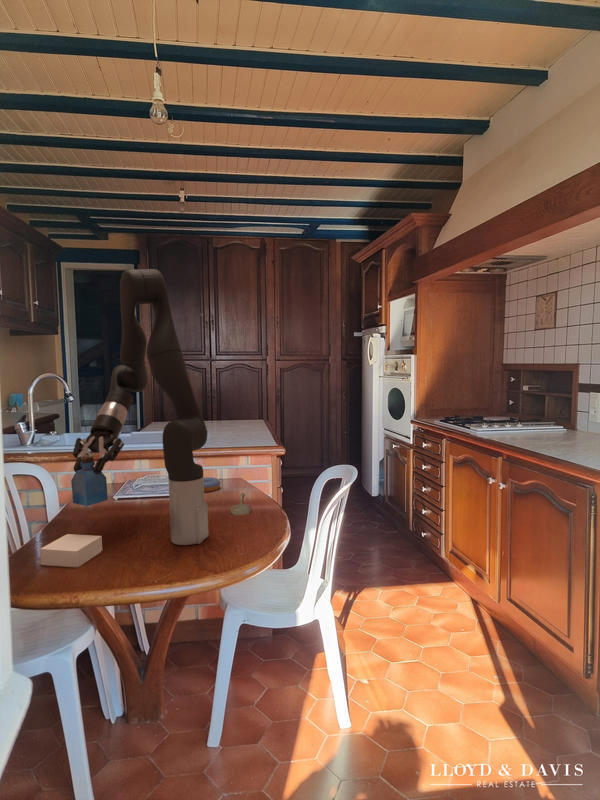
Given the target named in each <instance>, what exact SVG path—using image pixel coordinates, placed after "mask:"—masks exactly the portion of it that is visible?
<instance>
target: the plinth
mask: <svg viewBox="0 0 600 800" xmlns="http://www.w3.org/2000/svg"><path fill="white" fill-rule="evenodd" d="M102 537H103V536H102V535H92V534H91V535H90V534H89V535H88V534H71V533H70V534H69V533H67V534H64V535H63V536H61V537H59V538H58V539H55V540H54V541H51V542H50V543H48V544H47V545H44V546H43V547H40V549H39V554H40V556H39V557H40V565H41V566H52V567H53V566H54V567H69V568H79V567H81V566H82V565H84V564H85V563H87V562H88V561H90V560H92V559H93V558H94V557H97V555H99V554H100V553H102V552H103V540H102V539H103V538H102ZM101 551H102V552H101Z"/></svg>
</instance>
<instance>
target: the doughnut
mask: <svg viewBox="0 0 600 800" xmlns="http://www.w3.org/2000/svg"><path fill="white" fill-rule="evenodd" d="M203 481H204V493H210V492H211V493H212V492H216V491H217V490H219V489H220V487H221V481H220V480H219V479H218V478H216V477H211V476H210V477H203Z"/></svg>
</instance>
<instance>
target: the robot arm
mask: <svg viewBox="0 0 600 800" xmlns="http://www.w3.org/2000/svg"><path fill="white" fill-rule="evenodd" d="M119 282H120V283H119V298H120V300H119V301H120V316H121V343H120V352H119V353H120V354H119V360H120V362H121V363H122V364H119V365H117V366H115V367H114V369H113V370H112V372H111V377H110V378H111V379H110V387H109V391H108V394H107V397H106V399H105V401H104V403H103V405H102V406H101V408H100V409H99V411H98V413H97V415H96V418H95V419H94V421H93V423H92V425H91V428H90V433H89V435H88V436H87V437H86V438H83V439H82V438H80V437H77V438H76V439H75V443H74V447H73V451H72V456H73V457H74V458H75V459H76V461H75V463H74V465H73V472H75V473H76V471H77V470H82V467H81V462H82V460H81V458H82V457H87V456H94V454H95V453H99V458H97V460H96V461H95V465H94V469H93V471H94V472H95V473H96V474H100V472H103V470H104V467H105V465H106V463H108V462H109V461H111V462H113V461H115V459H116V458H117V457H118V455H119V453H120V452H121V450H122V449H123V447H124V446H125V443H124V442H123V441H122V439H121V438H119V435H120V433H121V431H122V429H123V427H124V424H125V422H126V419H127V415H128V412H129V410H130V408H131V406H132V404H133V399H134V398H133V395H132V393H130V392H134V393H141V392H143V391H144V390H145V389H146V388H147V385H148V379H149V378H148V372H147V367H146V361H145V358H147V361H148V365H149V368H150V373H151V375H152V378H153V379H154V381H155V382H156V384H157V385H158V386H159V387H160V388H161V390H162V391H163V393H164V394H165V395H166V396H167V398H168V399H169V400H170V402H171V404H172V406H173V408H174V409H173V410H174V412H175V415H176V419H174V420H171V421H168V422H167V424H166V425H165V426H164V428H163V431H162V451H163V460H164V461H163V462H164V467H165V470H166V473H167V475H168V496H169V497H168V498H169V519H170V520H169V521H170V541H171V542H172V543H173V544H175V545H178V546H190V545H196V544H197V545H200V544H201V543H203V542H204V540H206V539H207V538H208V536H209V517H208V516H209V515H208V513H209V511H208V502H205V492H204V481H203V478H204V467H203V465H201V464H199V463H196V462H195V460H194V452H195V451H197V450H198V451H199V450H200V449H202V448H203V447H204V446H205V445H206V443H207V440H208V430H207V426H206V423H205V420H204V418H203V415H202V412H201V410H200V408H199V405H198V402H197V399H196V398H195V397H196V396H195V394H194V391H193V387H192V384H191V383H192V382H191V380H190V377H189V374H188V369H187V367H186V366H187V365H186V362H185V358H184V355H183V351H182V348H181V347H182V346H181V345H180V341H179V338H178V334H177V331H176V328H175V323H174V320H173V315H172V310H171V305H170V299H169V294H168V290H167V289H168V288H167V284H166V281H165V278H164V276H163V274H162V272H160V270H158V269H155V268H148V269H147V268H144V269H143V268H142V269H141V268H137V269H125V271H123V272H122V274H121V276H120V281H119ZM148 304H149V305H150V304H151V305H152V309H153V312H154V313H153V314H154V321H153V322H154V324H153V327H152V331H151V333H150V337H149V339H147V335H146V333H145V331H144V329H143V327H142V326H141V324H140V322H139V320H138V318H137V315H136V309H137V308H136V307H137V305H148ZM147 340H148V343H147Z"/></svg>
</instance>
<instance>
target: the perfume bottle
mask: <svg viewBox="0 0 600 800" xmlns="http://www.w3.org/2000/svg"><path fill="white" fill-rule="evenodd" d="M81 460H82V462H81V467H82V470H77V471H76V472H75V473H74V474H73V476H72V479H71V480H70V481H71V493H72V495H71V496H72V503H73V504H76V505H79V506H84V507H89V506H94V505H95V504H96V505H97V504H99V503H102V502H106V501H108V500H109V498H108V497H109V495H108V484H107V482H108V481H107V477H106V475H105V474H104V473H103V471H101V472H100V474H96V473H95V472H94V471H93V469H94V467H95V464H96V461H95V460H94V455H92V456H87V457H84V456H83V457H82V458H81Z"/></svg>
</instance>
